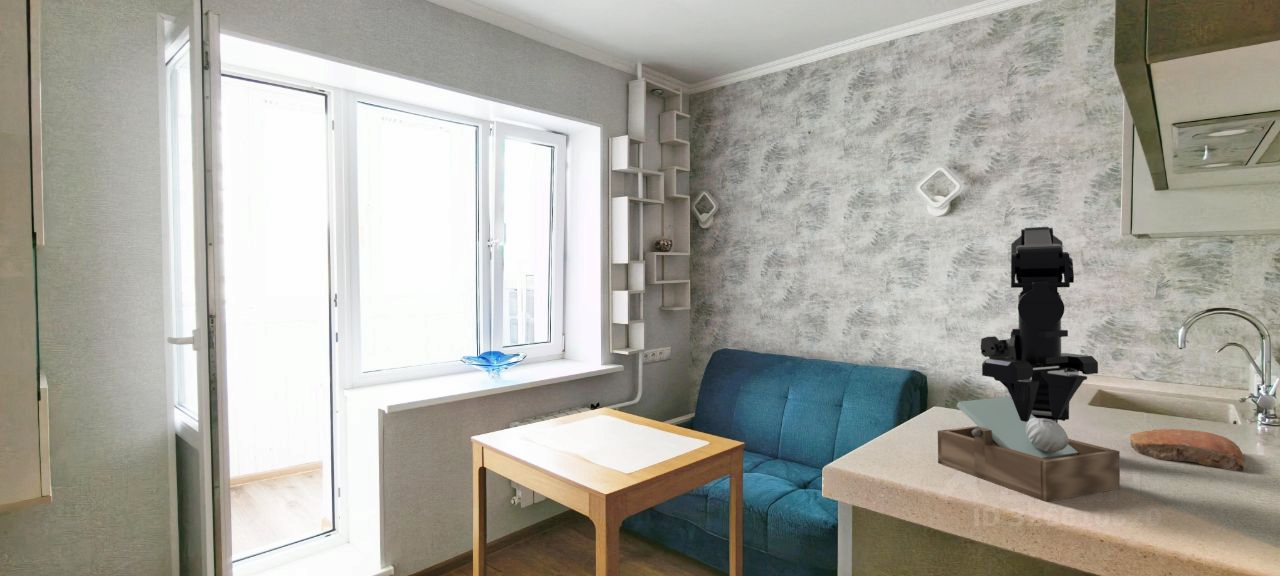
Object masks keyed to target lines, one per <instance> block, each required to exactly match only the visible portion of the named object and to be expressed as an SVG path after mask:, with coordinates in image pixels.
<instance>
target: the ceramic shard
mask: <svg viewBox="0 0 1280 576" xmlns="http://www.w3.org/2000/svg"><path fill="white" fill-rule="evenodd" d="M1129 439H1130V447H1131V448H1132V449H1133V450H1134V451H1135V452H1136V453H1138V454H1141V455H1144V456H1147V457H1150V458H1153V459H1154V460H1158V461H1159V460H1160V461H1174V462H1175V461H1177V462H1178V461H1179V462H1191V463H1196V464H1200V465H1202V466H1208V467H1214V468H1219V469H1224V470H1227V471H1228V470H1229V471H1234V472H1244V470H1245V469H1246V463H1245V461H1246V460H1245V457H1244V454H1243V452H1242V450H1241V448H1240V447H1239V445H1237V444H1236V443H1235V442H1234V441H1232V440H1231V439H1229V438H1227V437H1224V436H1223V435H1219V434H1215V433H1212V432H1208V431H1203V430H1202V431H1201V430H1195V429H1194V430H1192V429H1179V428H1178V429H1177V428H1164V429H1163V428H1161V429H1159V428H1157V429H1153V430H1144V431H1139V432H1136V433H1131V434H1130V435H1129Z"/></svg>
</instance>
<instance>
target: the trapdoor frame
mask: <svg viewBox="0 0 1280 576" xmlns="http://www.w3.org/2000/svg"><path fill="white" fill-rule="evenodd" d="M1053 421H1054V420H1053ZM1068 444H1069V445H1070V446H1071V447H1072V448H1074V449H1075V450H1076V451H1077V452H1078V454H1077V455H1076V456H1069V457H1062V458H1056V459H1049V460H1047V459H1044V458H1040V457H1037V456H1033V455H1030V454H1026V453H1023V452H1020V451H1016V450H1013V449H1009V448H1006V447H1002V446H999V445H998V444H997V443H996V442H995V441H994V440H993V439H992V430H989V429H985V428H980V427H979V426H978V425H974V426H967V427H959V428H958V427H957V428H949V429H941V430H937V463H938V464H940V465H942V466H946V467H949V468H950V469H953V470H956V471H960V472H962V473H965V474H969V475H971V476H973V477H976V478H979V479H983V480H984V481H987V482H990V483H993V484H996V485H999V486H1001V487H1005V488H1007V489H1009V490H1013V491H1016V492H1018V493H1022V494H1024V495H1027V496H1030V497H1033V498H1035V499H1037V500H1041V501H1043V502H1051V501H1055V500H1056V501H1057V500H1063V499H1067V498H1074V497H1079V496H1085V495H1092V494H1096V493H1101V492H1108V491H1113V490H1118V489H1121V488H1120V487H1121V486H1120V485H1121V478H1120V477H1121V474H1120V473H1121V471H1120V470H1121V469H1120V467H1121V464H1120V460H1121V459H1120V457H1121V456H1120V450H1117V449H1112V448H1107V447H1104V446H1099V445H1094V444H1092V443H1088V442H1084V441H1080V440H1075V439H1071V438H1069V443H1068Z"/></svg>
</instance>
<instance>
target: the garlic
mask: <svg viewBox="0 0 1280 576" xmlns="http://www.w3.org/2000/svg"><path fill="white" fill-rule="evenodd" d="M1026 433H1027V437H1028V439H1029V441H1030V442H1031V444H1033V445H1034V446H1035V447H1036V448H1038V449H1040V450H1043V451H1045V452H1057V451H1060V450H1062V449H1064V448H1065V447H1066V446H1067V445H1068V443H1069V439H1070V438H1069V436H1068V434H1067V432H1066V431H1065V429H1064V428H1063V427H1062V426H1061V425H1060V423H1056V422H1055V421H1053V420H1051V419H1045V418H1032V419H1030V420H1029V421H1028V423H1027V426H1026Z"/></svg>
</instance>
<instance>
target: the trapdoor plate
mask: <svg viewBox="0 0 1280 576" xmlns="http://www.w3.org/2000/svg"><path fill="white" fill-rule="evenodd" d="M956 408H958V409H959V410H960V411H961V412H962V413H963V414H964V415H966V417H968V419H970V420H971V421H972V422H973V423H974V424H975V425H976V426H979V427H980V428H985V429H989V430H992V439H993V440H994V441H995V442H996V443H997V444H998V445H999V446H1002V447H1006V448H1009V449H1013V450H1016V451H1020V452H1023V453H1026V454H1030V455H1033V456H1037V457H1040V458H1044V459H1047V460H1049V459H1056V458H1062V457H1069V456H1076V455H1077V454H1078V452H1077V451H1076V450H1075V449H1074V448H1072V447H1071V446H1070V445H1069V444H1068V445H1067V446H1066V447H1065V448H1064V449H1062V450H1060V451H1057V452H1045V451H1043V450H1040V449H1038V448H1036V447H1035V446H1034V445H1033V444H1031V442H1030V441H1029V439H1028V437H1027V433H1026V426H1027V423H1028V422H1024V421H1021V420H1020V417H1019V415H1018V412H1017V410H1016V407H1015V405H1014V402H1013V400H1012V397H1011V396H1003V397H1001V396H1000V397H994V398H985V399H984V398H982V399H972V400H962V401H958V402H957V404H956ZM1032 418H1036V417H1034V416H1033V415H1032V414H1031V416H1030V418H1029V420H1030V419H1032Z"/></svg>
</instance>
